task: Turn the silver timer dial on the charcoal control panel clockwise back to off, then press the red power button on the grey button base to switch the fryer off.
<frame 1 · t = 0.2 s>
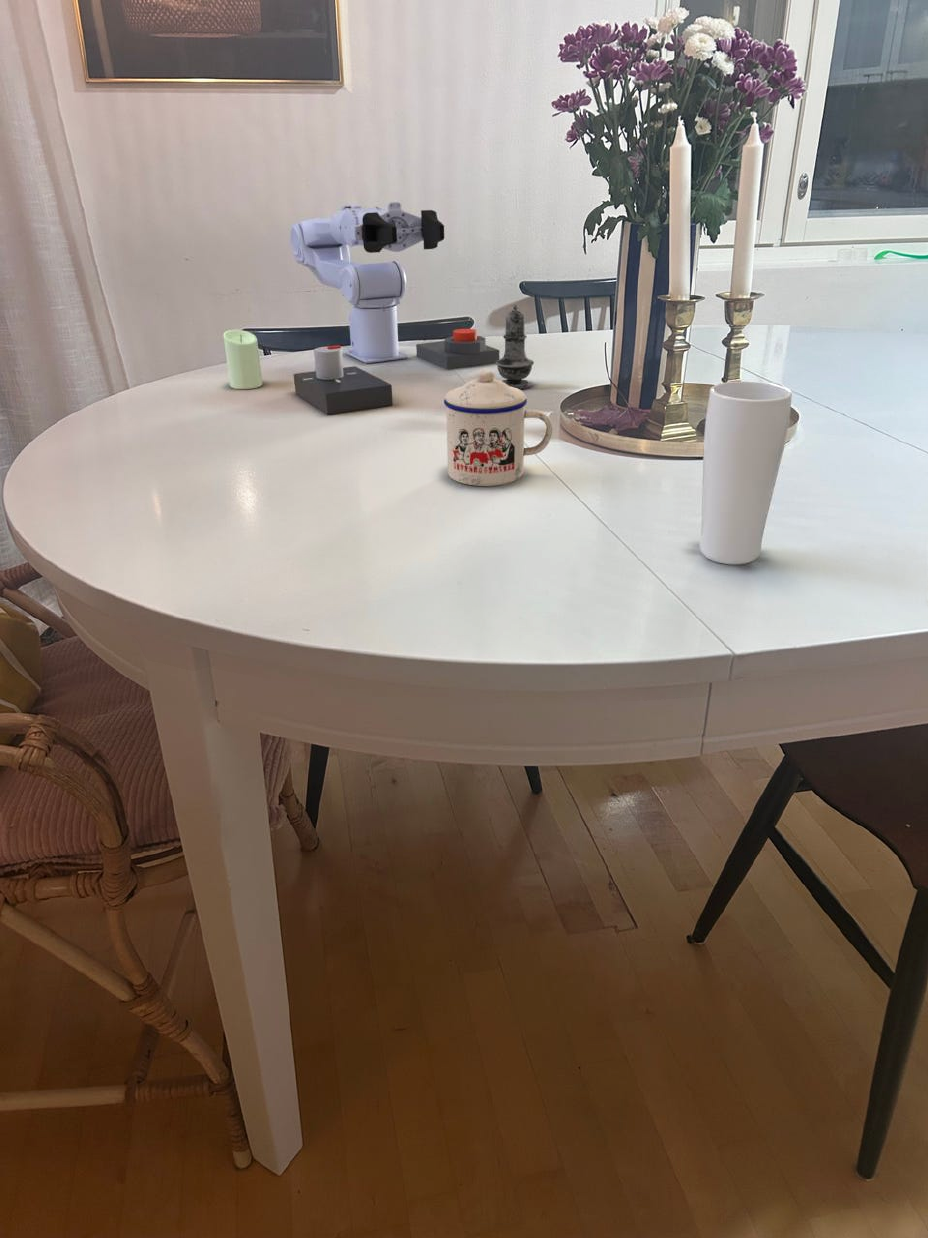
hand: (418, 233, 134), 22 cm above the table, tool horizontal, fingers open, 7 cm apart
grey button base: (457, 359, 157), on the table
salt shaker: (514, 386, 140), on the table
drinking glass: (728, 556, 82), on the table
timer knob: (328, 361, 133), point 5 cm above the table, hinge at 90.0°
power button: (465, 336, 152), point 4 cm above the table, slide at 0.1 cm
teacup with lid: (498, 476, 103), on the table
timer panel: (342, 399, 134), on the table
candle: (246, 386, 142), on the table
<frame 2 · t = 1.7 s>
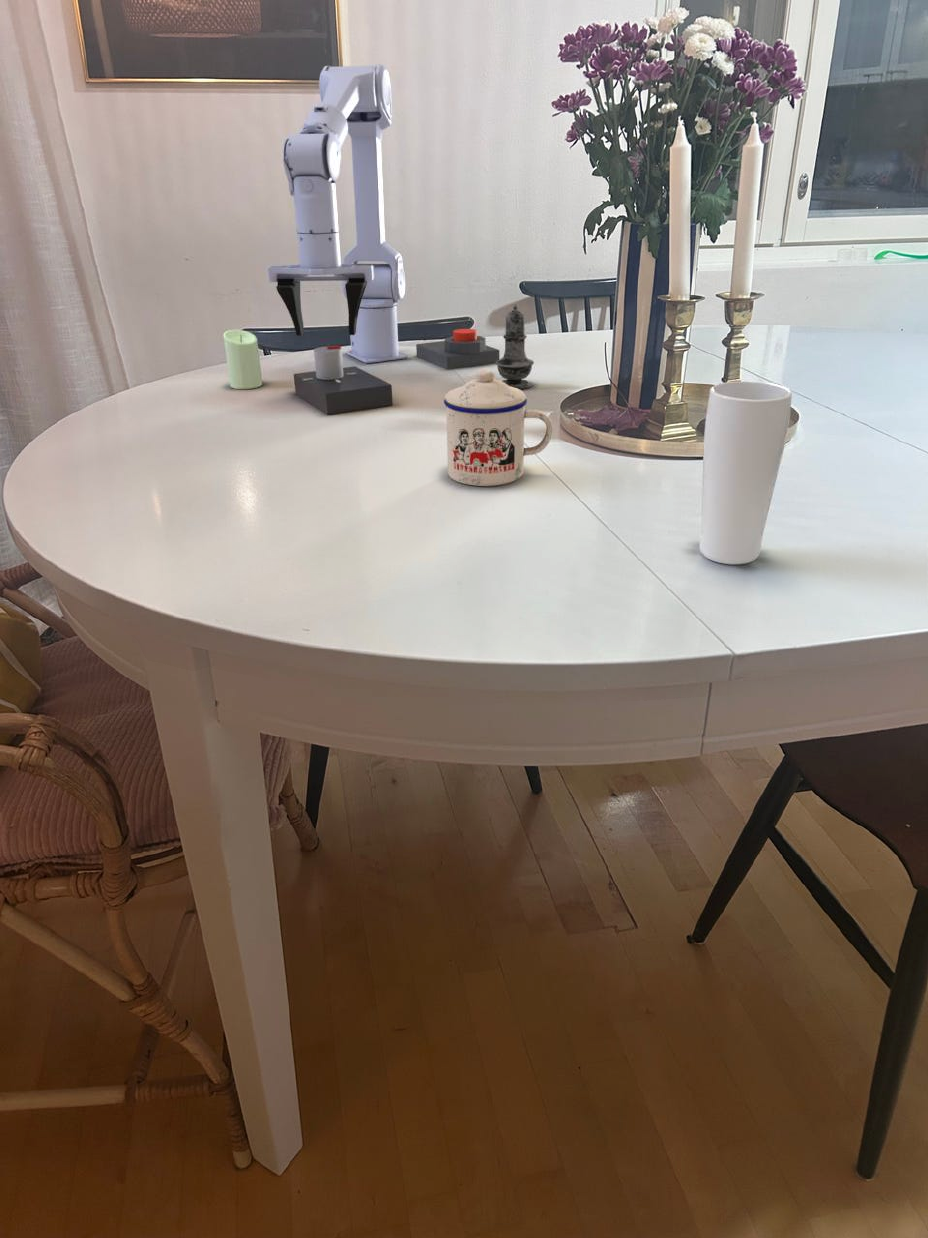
hand: (326, 333, 131), 9 cm above the table, tool pointing down, fingers open, 7 cm apart
nothing on the table moved.
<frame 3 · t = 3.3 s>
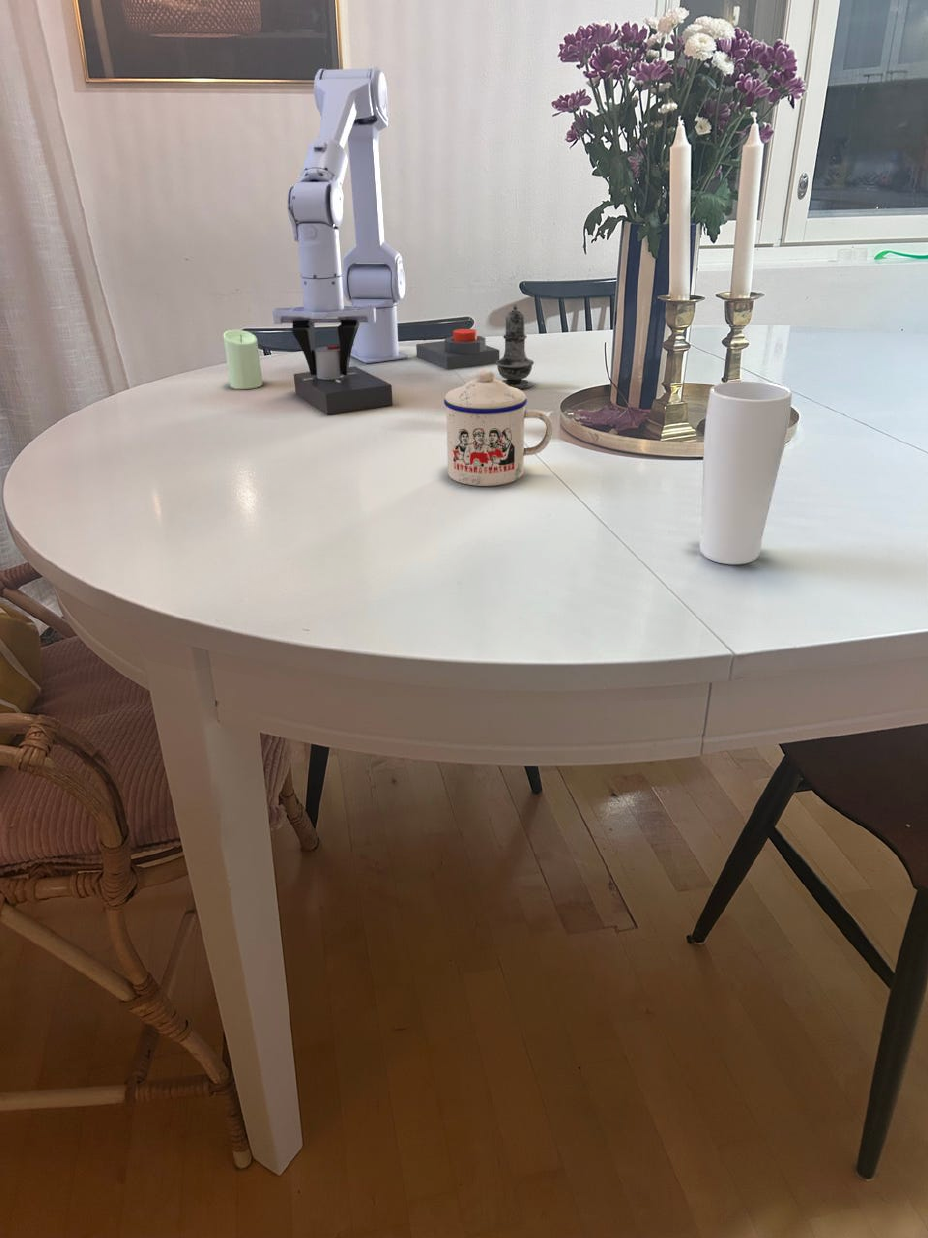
hand: (329, 373, 133), 4 cm above the table, tool pointing down, fingers closed on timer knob, 4 cm apart
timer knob: (328, 361, 133), point 5 cm above the table, hinge at 90.0°, touching gripper
everything else where it was.
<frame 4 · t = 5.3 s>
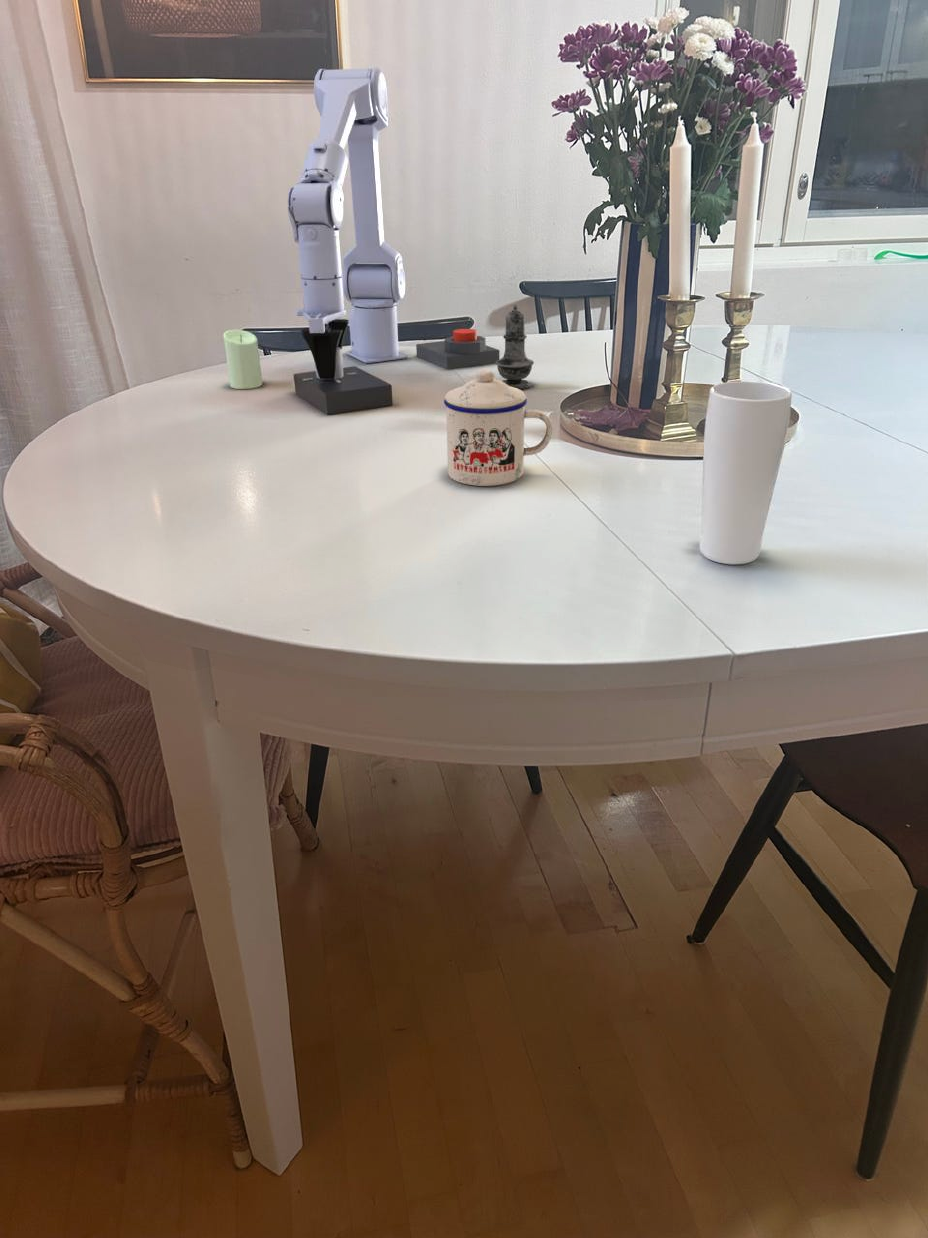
hand: (329, 374, 133), 3 cm above the table, tool pointing down, fingers closed on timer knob, 4 cm apart
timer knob: (328, 361, 133), point 5 cm above the table, hinge at 0.2°, touching gripper
everything else where it was.
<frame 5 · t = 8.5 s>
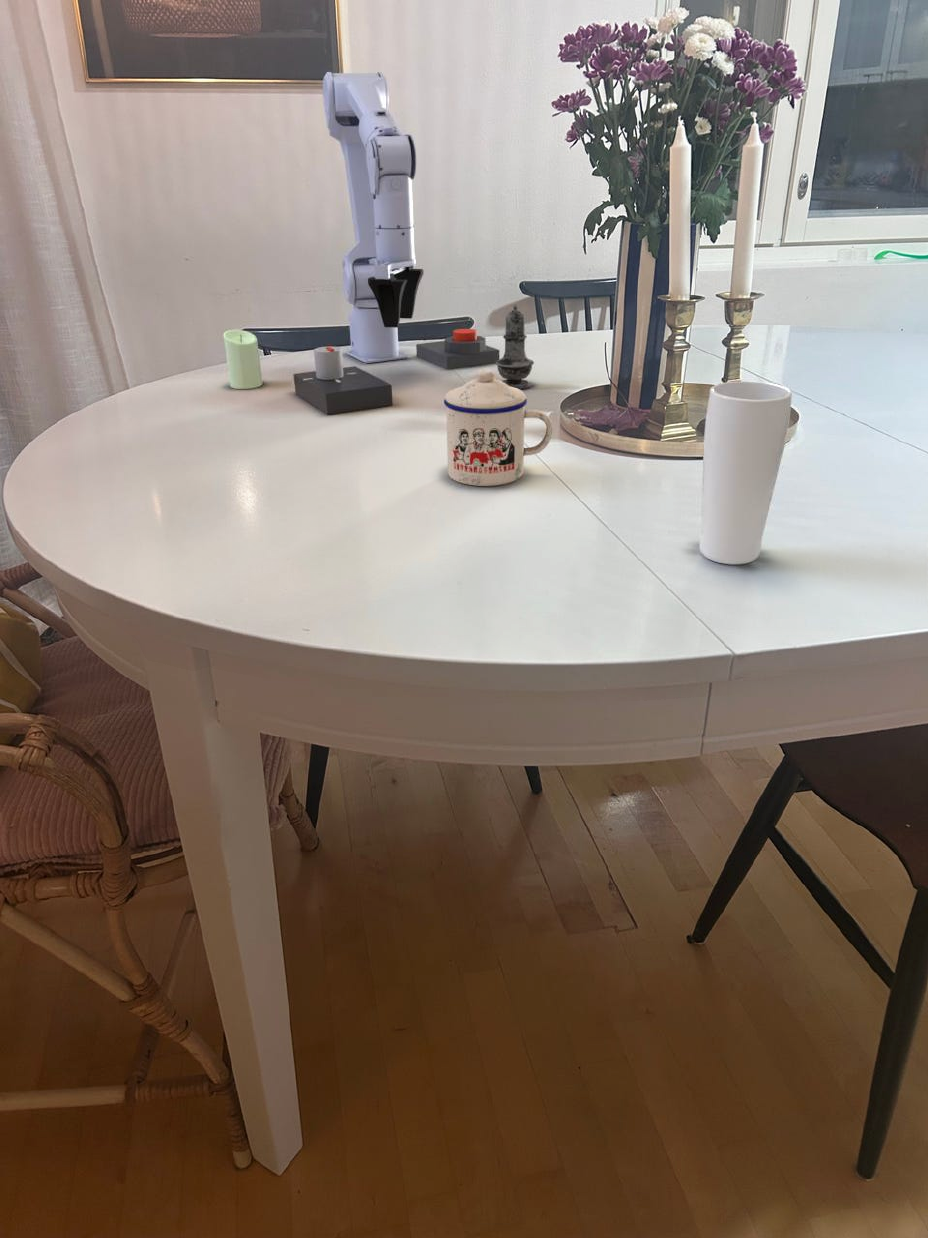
hand: (398, 322, 140), 9 cm above the table, tool pointing down, fingers open, 7 cm apart
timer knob: (328, 361, 133), point 5 cm above the table, hinge at 0.0°
everything else where it was.
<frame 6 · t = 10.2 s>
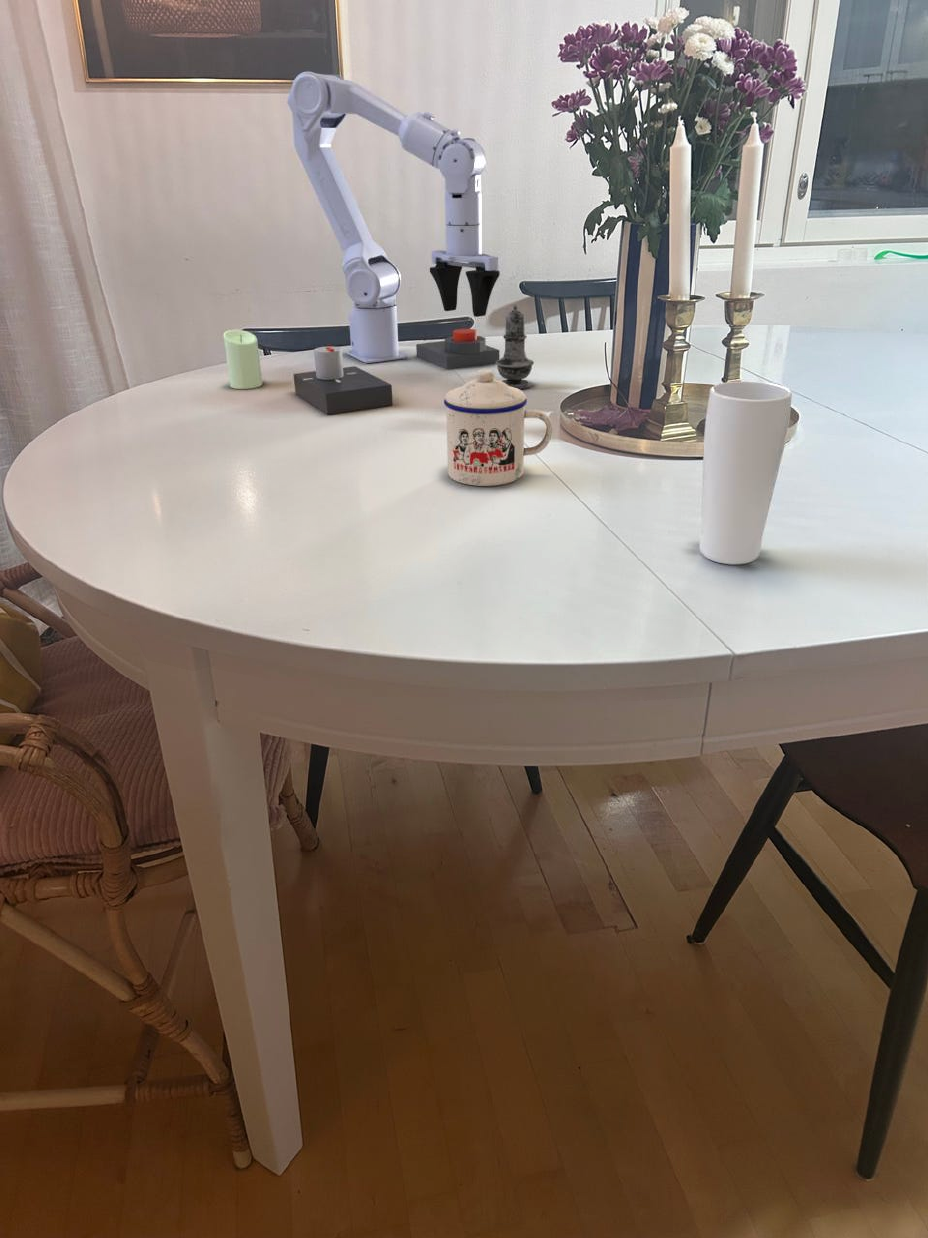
hand: (464, 313, 150), 8 cm above the table, tool pointing down, fingers open, 7 cm apart
nothing on the table moved.
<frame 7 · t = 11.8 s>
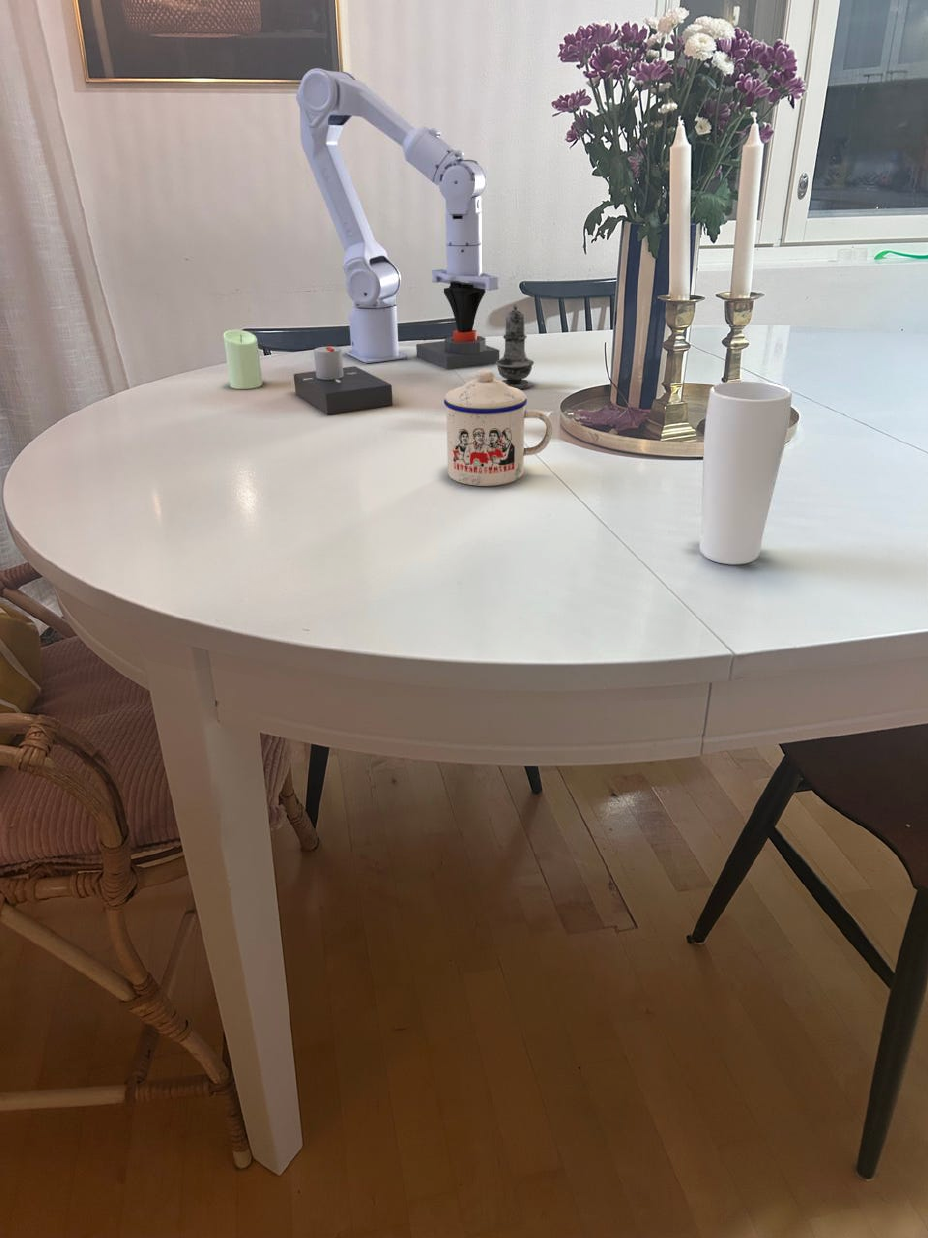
hand: (465, 331, 152), 5 cm above the table, tool pointing down, fingers closed, pressing on power button
power button: (465, 336, 152), point 4 cm above the table, slide at 0.0 cm, touching gripper
everything else where it was.
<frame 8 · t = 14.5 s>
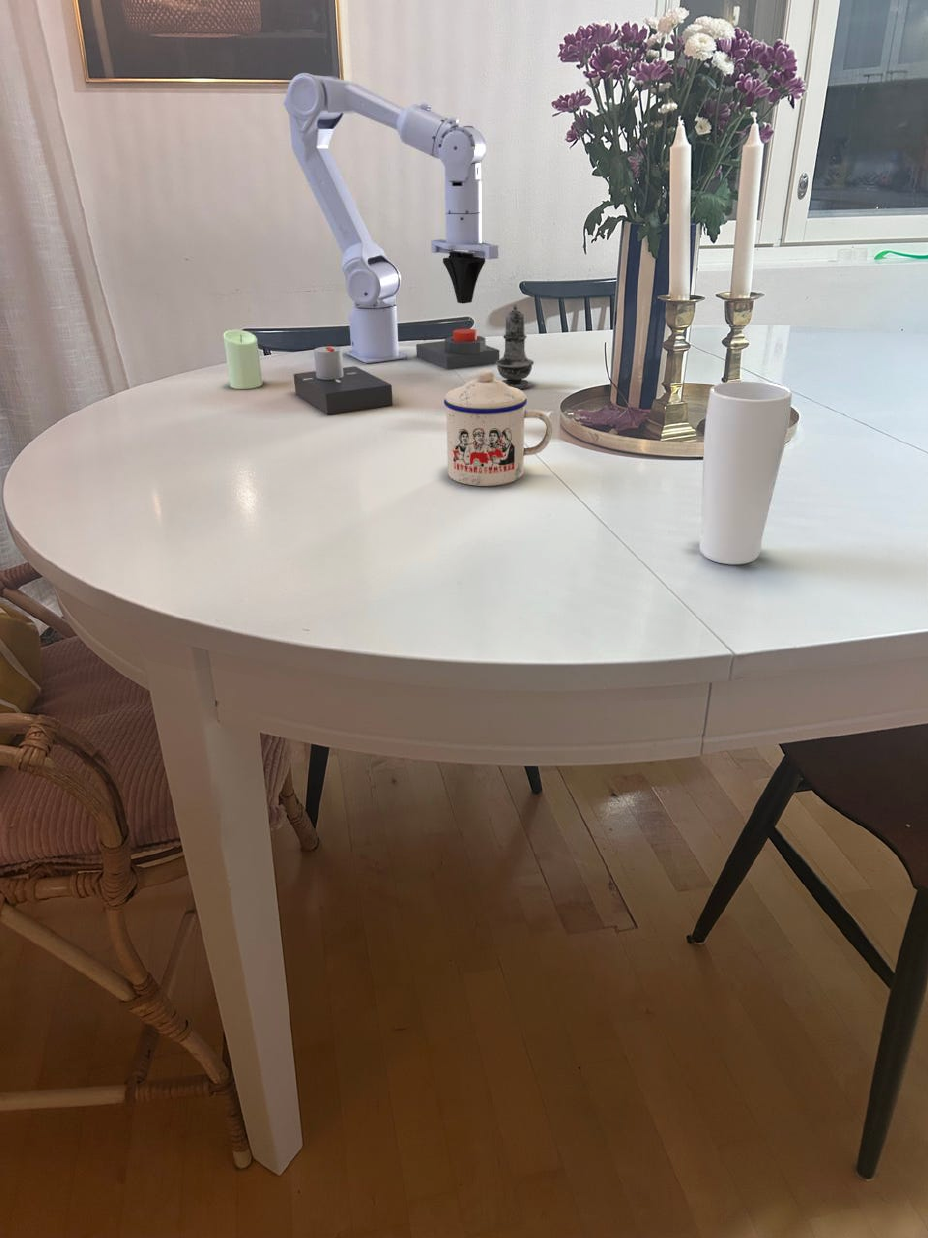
hand: (464, 302, 150), 10 cm above the table, tool pointing down, fingers closed
power button: (465, 336, 152), point 4 cm above the table, slide at 0.1 cm
everything else where it was.
at the end: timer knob at +0° (first picture: +90°); power button pushed in 1.2 cm at the most during the clip, back to where it started at the end; power button slide at 0.1 cm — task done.
